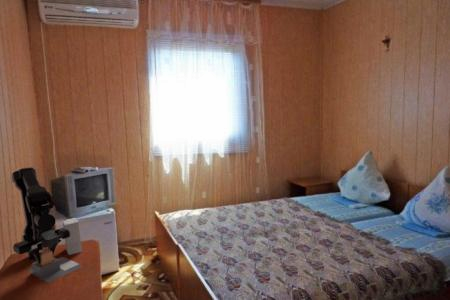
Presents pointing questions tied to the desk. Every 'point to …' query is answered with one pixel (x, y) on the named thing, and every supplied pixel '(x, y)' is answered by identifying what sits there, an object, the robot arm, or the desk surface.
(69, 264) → the socket block
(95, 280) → the desk surface
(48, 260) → the plug
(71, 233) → the skincare box
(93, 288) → the desk surface
